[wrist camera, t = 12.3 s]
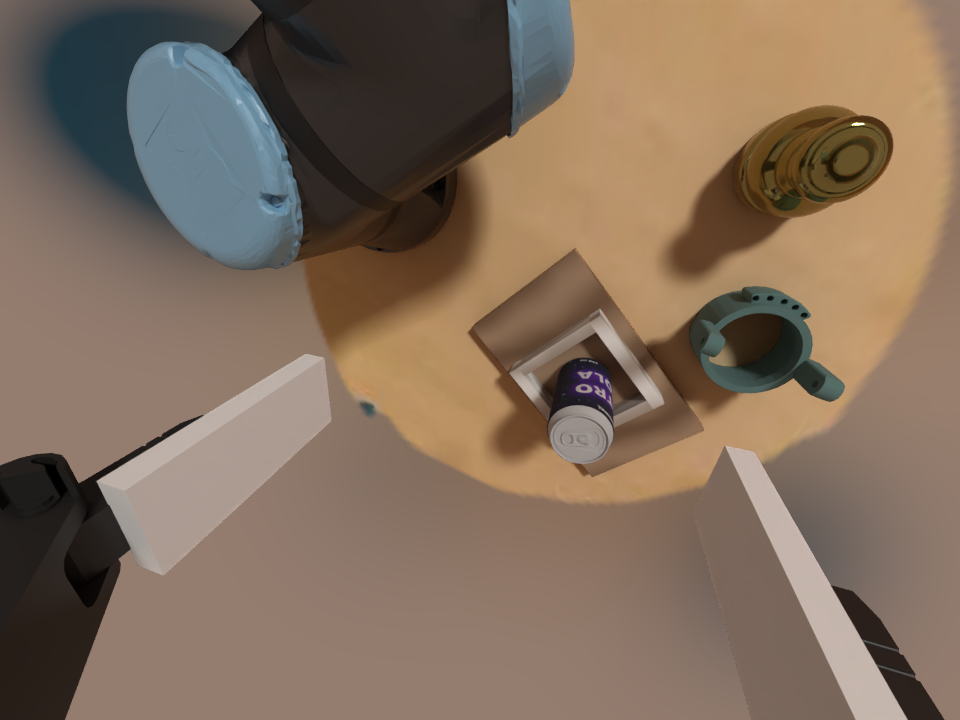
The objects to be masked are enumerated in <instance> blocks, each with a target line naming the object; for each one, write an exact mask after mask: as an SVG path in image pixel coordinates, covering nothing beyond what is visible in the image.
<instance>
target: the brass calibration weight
mask: <svg viewBox="0 0 960 720" xmlns="http://www.w3.org/2000/svg"><path fill="white" fill-rule="evenodd" d="M892 153H893V137H892V134H891V132H890V130H889V128H888V127H887V126H886V125H885V124H884V123H883V122H882V121H880V120H879V119H877V118H874V117H870V116H863V115H857V114H856V113H855V112H853V111H851V110H849V109H846V108H844V107H839V106H833V105H823V106H815V107H811V108H807V109H804V110H801V111H799V112H796V113H793V114H790V115H788V116H785V117H783V118H781V119H779V120H777V121H775V122H773V123H771V124H769V125H767V126H766V127H764V128H763V129H761V130H760V131H759V132H758V133H756V134H755V135H754V136H753V137H752V138H751V139H750V140H749V142H748V143H747V144H746V145H745V147H744V148H743V150H742V151H741V153H740V155H739V157H738V159H737V162H736V164H735V168H734V174H733V184H734V189H735V192H736V194H737V196H738V198H739V199H740V201H741V202H742V203H743V204H744V205H745V206H747V207H748V208H750V209H752V210H754V211H757V212H760V213H763V214H766V215H771V216H777V217H783V218H796V217H803V216H807V215H811V214H814V213H816V212H819V211H821V210H823V209H825V208H827V207H829V206H831V205H832V204H834V203H837V202H841V201H845V200H848V199H850V198H853V197H855V196H857V195H859V194H861V193H862V192H864V191H865V190H867V189H868V188H869V187H870V186H872V185H873V184H874V183H875V182H876V181H877V180H878V179H879V178H880V176H881V175H882V174H883V172H884V171H885V170H886V168H887V166H888V164H889V162H890V160H891V157H892Z"/></svg>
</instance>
